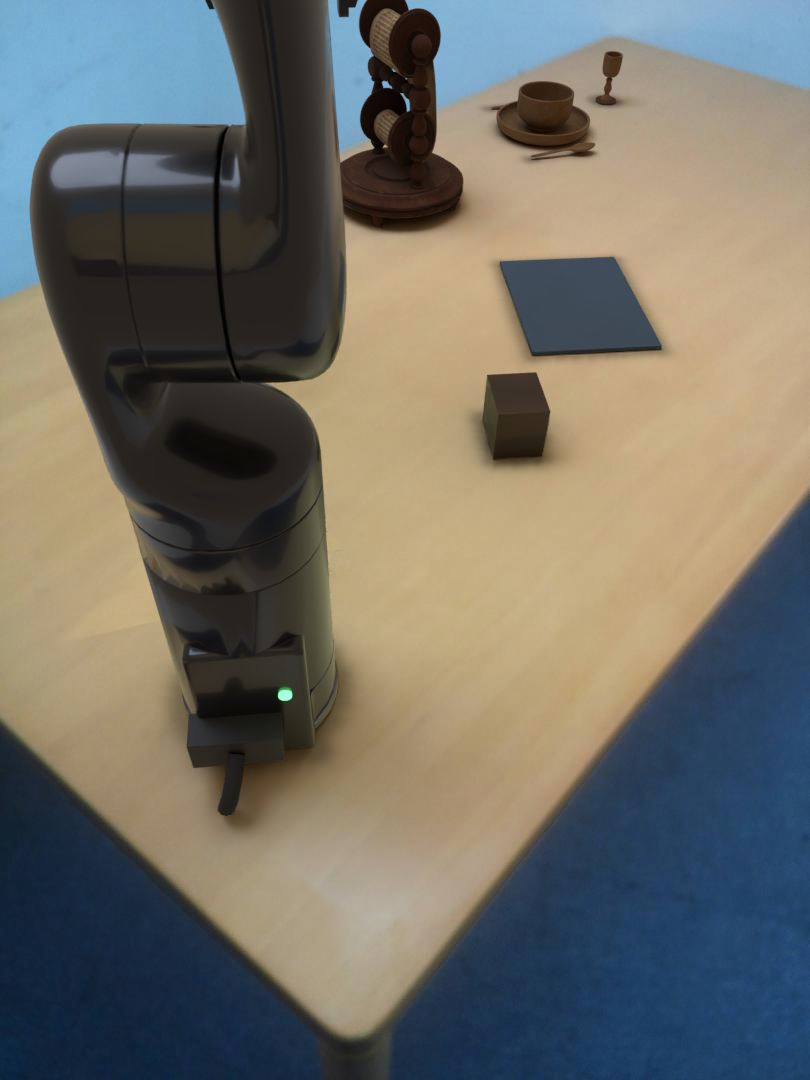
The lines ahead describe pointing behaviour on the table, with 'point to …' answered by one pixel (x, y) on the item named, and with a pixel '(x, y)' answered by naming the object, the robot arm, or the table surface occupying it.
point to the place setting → (553, 112)
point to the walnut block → (515, 415)
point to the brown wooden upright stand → (400, 120)
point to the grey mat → (577, 306)
